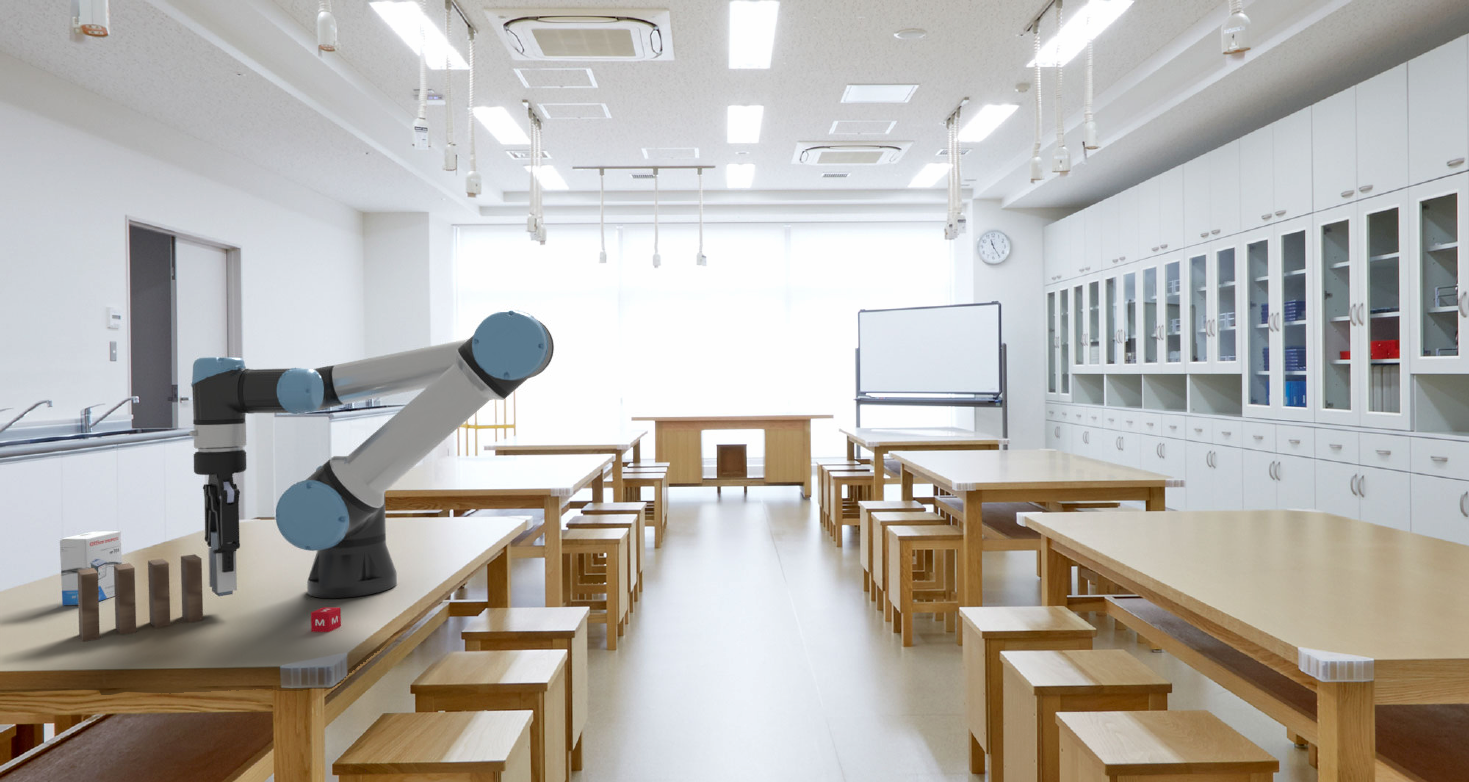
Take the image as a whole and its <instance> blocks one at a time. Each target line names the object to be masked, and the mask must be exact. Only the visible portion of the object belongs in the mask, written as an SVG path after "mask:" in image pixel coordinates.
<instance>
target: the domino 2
mask: <svg viewBox="0 0 1469 782" xmlns="http://www.w3.org/2000/svg"><path fill="white" fill-rule="evenodd" d="M147 566H148V568H147V570H148V571H147V572H148V573H147V574H148V575H147V578H148V579H147V580H148V610H149V611H148V613H149V624H150V625H151V626H153V627H154V629H161V628H166V627H171V599H170V598H171V597H170V596H171V594H170V591H171V590H170V567H169V566H170V563H169V562H168V561H167V560H166V559H164V558H158V559H151V560H150V559H149V560H147Z"/></svg>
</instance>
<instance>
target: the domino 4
mask: <svg viewBox="0 0 1469 782" xmlns="http://www.w3.org/2000/svg"><path fill="white" fill-rule="evenodd" d="M227 543H229V542H227ZM210 548H211V570H212V587H211V592H212V593H214V594H215V595H217V596H218V597H223V596H230V595H233V594H234V592H233V591H227V592H221V593H217V567H216V554H214V553H213V550H217V549H218V540H217V531H216V532H211V547H210Z"/></svg>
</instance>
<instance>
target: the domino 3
mask: <svg viewBox="0 0 1469 782" xmlns="http://www.w3.org/2000/svg"><path fill="white" fill-rule="evenodd" d="M202 566H203V565H202V558H201V557H200V556H198V555H197V554H188V555H181V556H180V576H181V577H180V581H181V586H180V587H181V617H182V618H183V619H184V620H185V621H186V622H187V623H193V622H194V623H195V622H198V621H203V620H204V602H203V567H202Z"/></svg>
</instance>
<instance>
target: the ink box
mask: <svg viewBox="0 0 1469 782" xmlns="http://www.w3.org/2000/svg"><path fill="white" fill-rule="evenodd" d="M121 533H122V532H121V531H120V530H118V531H116V530H115V531H114V530H113V531H110V530H107V531H106V530H105V531H104V530H103V531H102V530H101V531H100V530H99V531H96V530H95V531H90V532H86V533H81V534H77V535H72V536H67V537H63V538H61V539H60V540H59V553H60V554H59V555H60V574H61V575H60V579H61V582H60V583H61V600H62V601H61V602H62V603H61V604H62V606H78V570H81V569H89V568H94V569H95V570H96V571H97V572H98V591H99V602H100V601H103V600H108V599H110V598H113V597H115V589H114V565H119V564H123V558H122V557H123V555H122V552H123V551H122V535H121Z"/></svg>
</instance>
